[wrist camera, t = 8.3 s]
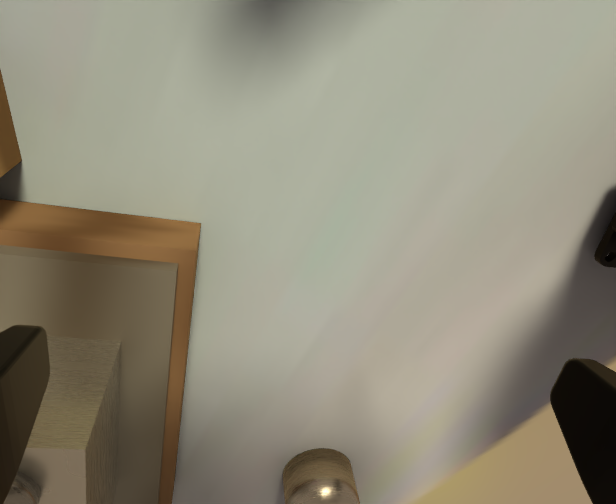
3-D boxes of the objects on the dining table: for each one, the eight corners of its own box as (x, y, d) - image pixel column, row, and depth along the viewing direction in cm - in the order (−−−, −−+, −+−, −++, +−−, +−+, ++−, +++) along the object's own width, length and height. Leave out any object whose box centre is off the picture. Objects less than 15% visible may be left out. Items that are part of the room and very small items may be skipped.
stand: (200, 223, 20) (194, 258, 17) (174, 482, 27) (167, 535, 24) (-76, 189, 18) (-129, 224, 15) (-26, 479, 25) (-57, 536, 22)
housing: (117, 480, 22) (83, 620, 17) (-4, 478, 21) (-77, 625, 16) (121, 341, 19) (79, 467, 14) (-24, 330, 18) (-126, 462, 13)
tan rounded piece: (357, 448, 28) (370, 496, 25) (342, 494, 30) (352, 543, 27) (289, 446, 27) (294, 495, 24) (277, 493, 29) (281, 544, 26)
